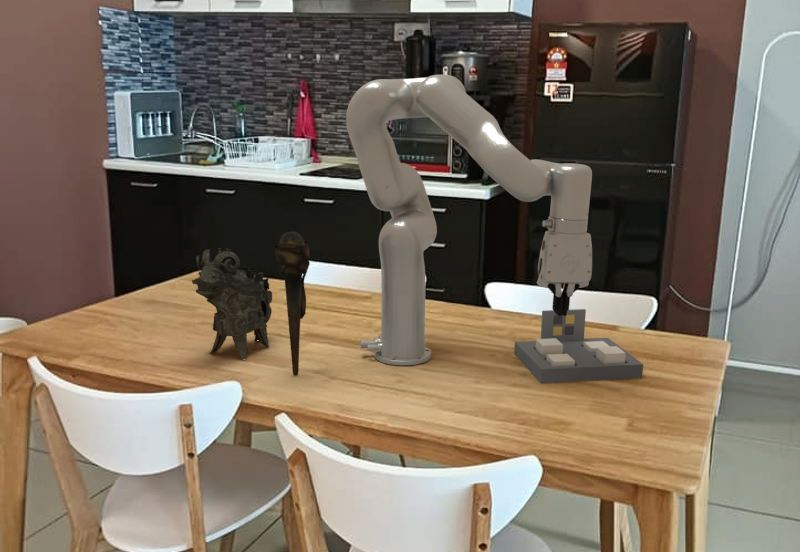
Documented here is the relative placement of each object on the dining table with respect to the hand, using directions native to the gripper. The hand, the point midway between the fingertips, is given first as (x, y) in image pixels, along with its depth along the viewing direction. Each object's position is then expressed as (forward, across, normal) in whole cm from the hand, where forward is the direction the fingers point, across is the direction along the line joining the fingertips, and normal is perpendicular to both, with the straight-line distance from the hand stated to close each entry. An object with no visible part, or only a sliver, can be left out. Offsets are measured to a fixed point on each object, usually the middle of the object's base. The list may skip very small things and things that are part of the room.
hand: (560, 313), depth 170 cm
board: (+13, +6, +4) cm, 15 cm away
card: (+10, +6, +13) cm, 18 cm away
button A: (+12, +1, 0) cm, 12 cm away
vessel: (+16, -66, +24) cm, 72 cm away
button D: (+12, +12, +7) cm, 18 cm away
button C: (+11, +1, +7) cm, 13 cm away
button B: (+10, +12, 0) cm, 16 cm away
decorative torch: (+15, -54, +8) cm, 56 cm away
